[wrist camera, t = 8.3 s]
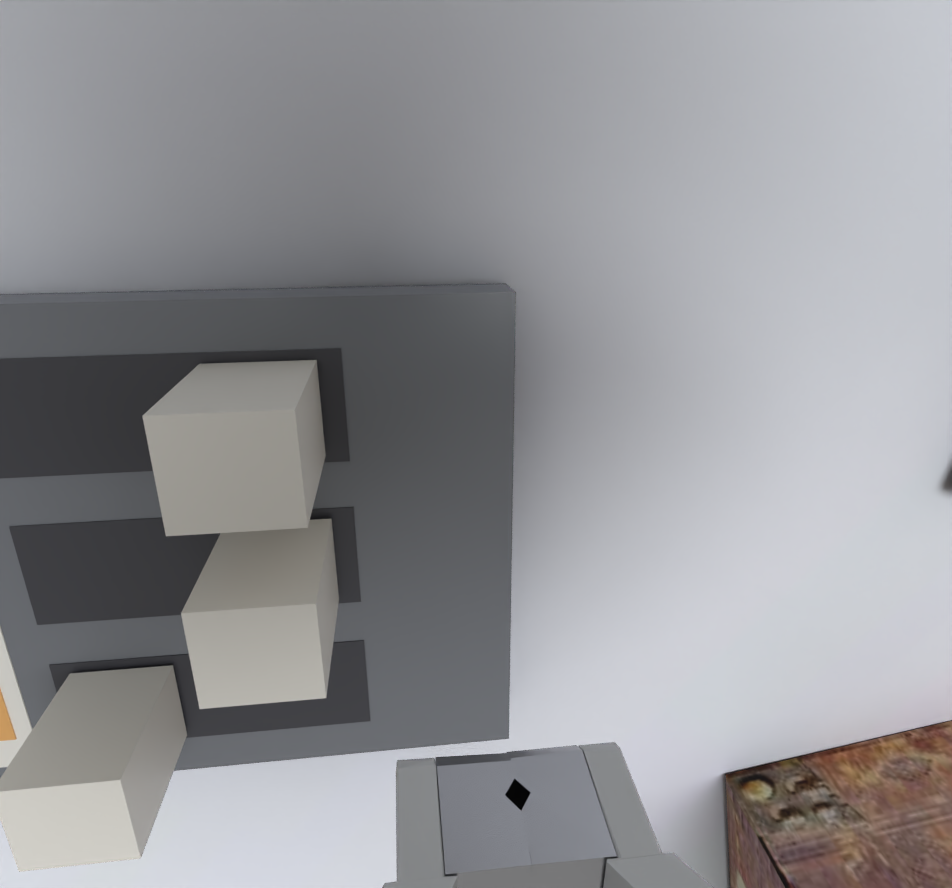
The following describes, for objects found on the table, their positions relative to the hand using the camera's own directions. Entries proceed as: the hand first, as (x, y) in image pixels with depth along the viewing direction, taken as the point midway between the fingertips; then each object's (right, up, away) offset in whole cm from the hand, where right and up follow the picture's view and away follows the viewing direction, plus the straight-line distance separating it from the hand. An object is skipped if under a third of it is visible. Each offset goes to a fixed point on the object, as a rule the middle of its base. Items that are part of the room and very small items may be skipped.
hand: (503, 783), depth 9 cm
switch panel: (-10, +1, +16) cm, 19 cm away
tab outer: (-13, -5, +15) cm, 21 cm away
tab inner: (-7, +6, +12) cm, 15 cm away
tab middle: (-7, +1, +14) cm, 16 cm away
